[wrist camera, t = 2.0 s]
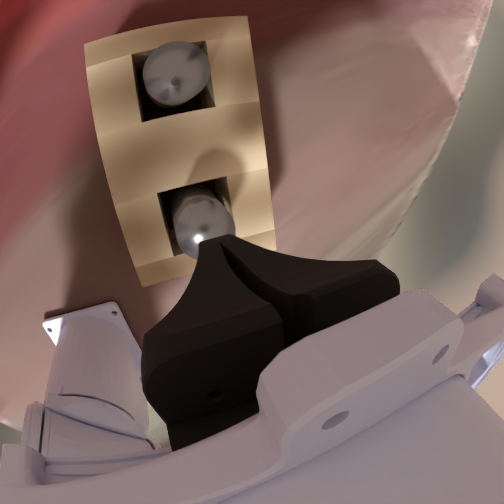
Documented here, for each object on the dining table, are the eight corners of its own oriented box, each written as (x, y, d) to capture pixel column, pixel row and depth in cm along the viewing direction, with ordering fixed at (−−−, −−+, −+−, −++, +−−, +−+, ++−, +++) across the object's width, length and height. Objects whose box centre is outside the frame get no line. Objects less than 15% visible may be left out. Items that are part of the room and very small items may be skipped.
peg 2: (220, 222, 19) (239, 251, 15) (176, 234, 18) (184, 267, 14) (212, 179, 17) (230, 197, 14) (165, 190, 17) (169, 212, 13)
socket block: (253, 225, 23) (276, 249, 19) (143, 255, 20) (142, 287, 17) (227, 35, 15) (246, 15, 11) (98, 60, 13) (83, 44, 9)
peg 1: (199, 102, 15) (214, 95, 11) (149, 112, 14) (147, 108, 10) (192, 57, 13) (206, 36, 10) (142, 67, 13) (139, 48, 9)
